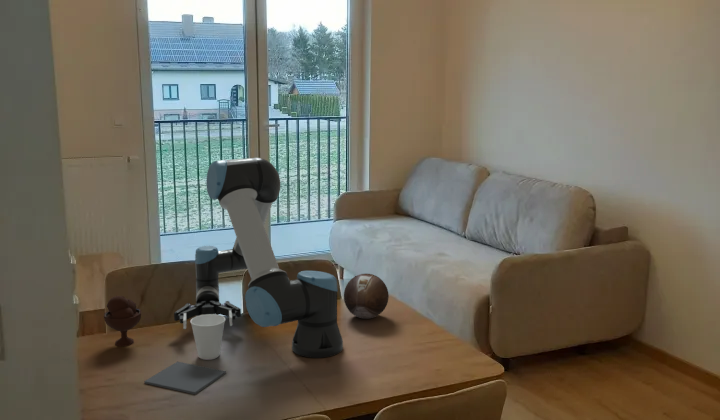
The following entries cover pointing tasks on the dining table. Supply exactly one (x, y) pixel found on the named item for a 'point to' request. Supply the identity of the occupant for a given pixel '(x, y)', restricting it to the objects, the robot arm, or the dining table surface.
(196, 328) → the cup
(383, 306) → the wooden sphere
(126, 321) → the ice cream bowl
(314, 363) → the dining table surface
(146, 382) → the mat
